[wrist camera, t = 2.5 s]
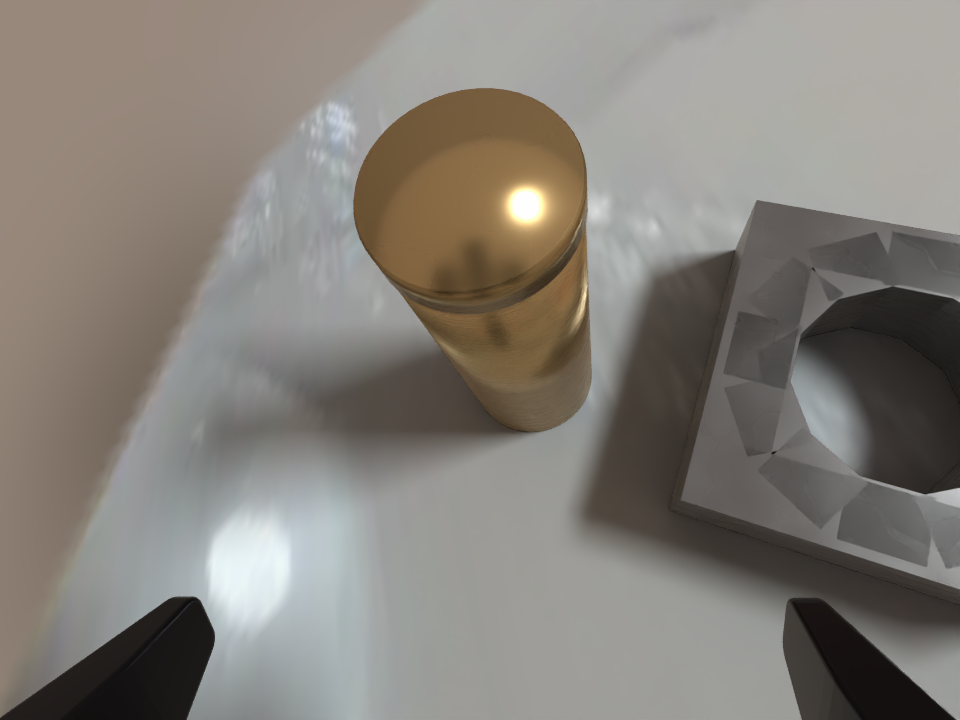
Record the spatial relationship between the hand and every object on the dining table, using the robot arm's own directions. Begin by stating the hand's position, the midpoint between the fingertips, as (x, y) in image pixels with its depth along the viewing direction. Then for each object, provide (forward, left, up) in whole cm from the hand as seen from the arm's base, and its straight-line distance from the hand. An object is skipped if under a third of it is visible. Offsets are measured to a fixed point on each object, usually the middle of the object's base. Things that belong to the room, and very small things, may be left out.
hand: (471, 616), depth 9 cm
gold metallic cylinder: (+4, +7, -13) cm, 16 cm away
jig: (+13, -1, -13) cm, 19 cm away
